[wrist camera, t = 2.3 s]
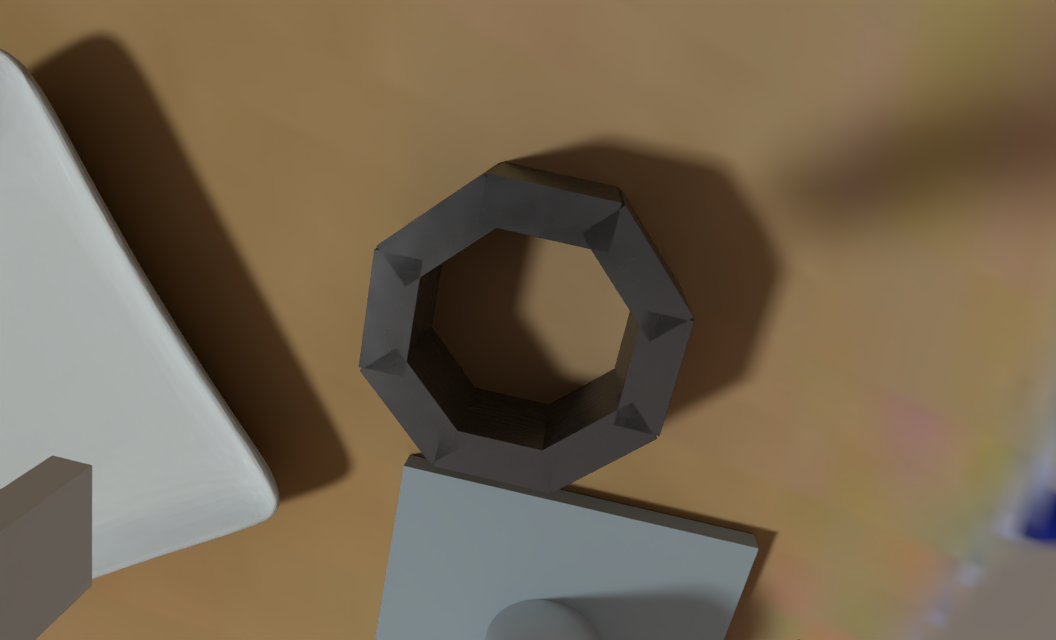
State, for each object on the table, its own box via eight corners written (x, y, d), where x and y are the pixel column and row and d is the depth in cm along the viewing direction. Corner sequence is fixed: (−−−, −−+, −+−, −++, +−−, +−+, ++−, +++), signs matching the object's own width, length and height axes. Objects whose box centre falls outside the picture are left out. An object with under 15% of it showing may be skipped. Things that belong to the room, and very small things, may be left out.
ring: (416, 143, 27) (387, 150, 23) (705, 206, 26) (723, 225, 22) (379, 402, 30) (348, 446, 27) (630, 460, 30) (635, 513, 26)
